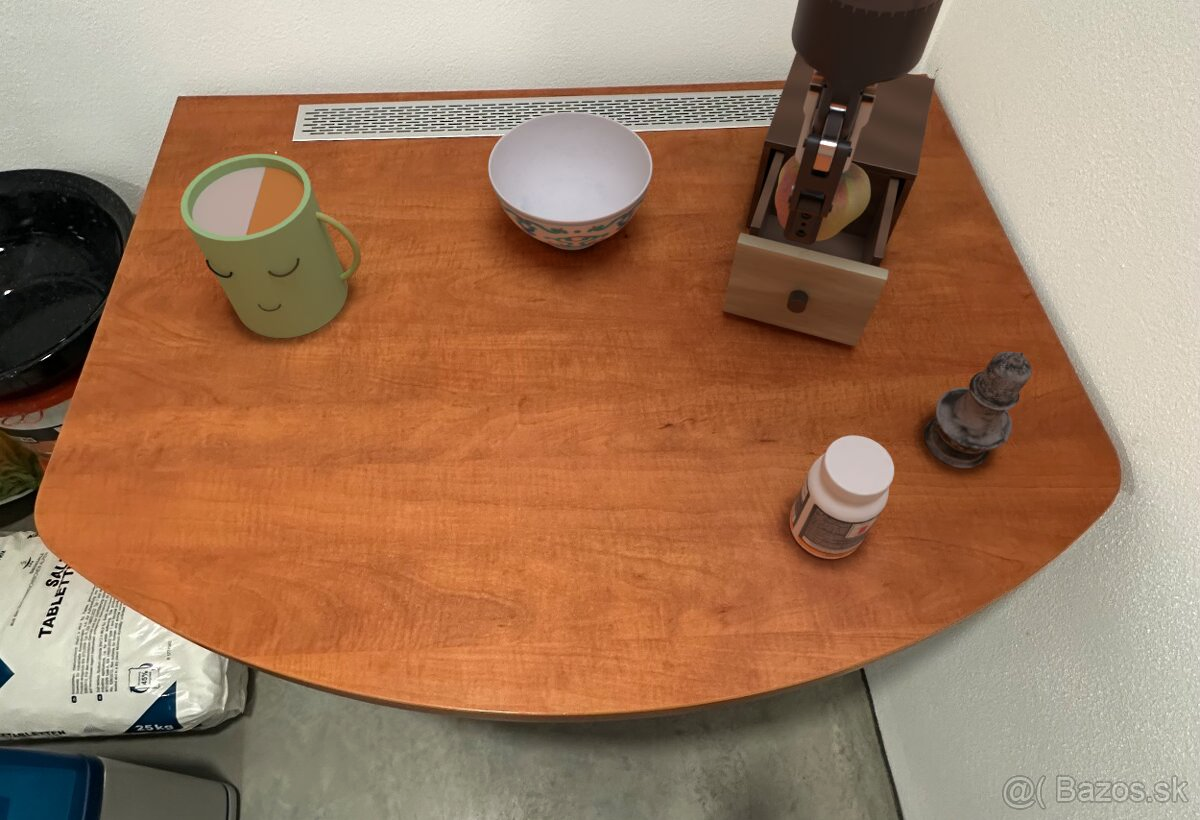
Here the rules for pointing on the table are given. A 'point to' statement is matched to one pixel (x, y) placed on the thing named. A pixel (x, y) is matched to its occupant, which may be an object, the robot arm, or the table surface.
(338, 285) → the mug
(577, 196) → the chinaware
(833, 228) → the apple
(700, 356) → the table surface
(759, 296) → the drawer
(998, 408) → the chess piece
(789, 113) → the cabinet
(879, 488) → the pill bottle
